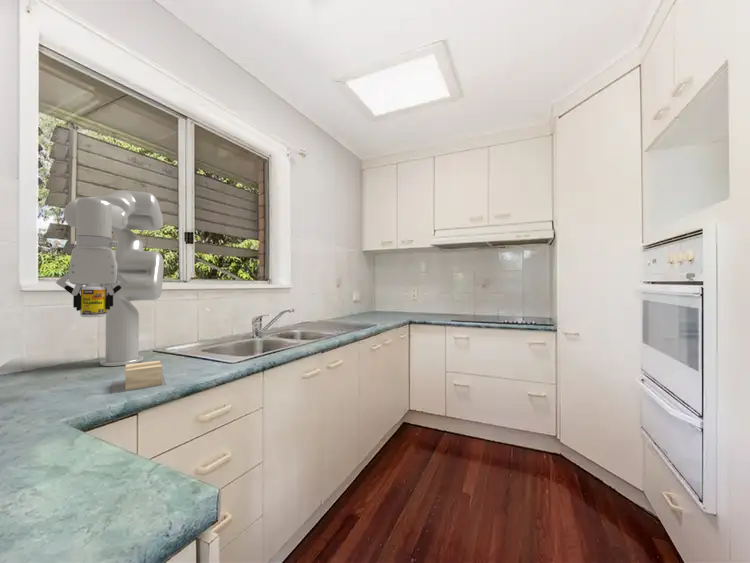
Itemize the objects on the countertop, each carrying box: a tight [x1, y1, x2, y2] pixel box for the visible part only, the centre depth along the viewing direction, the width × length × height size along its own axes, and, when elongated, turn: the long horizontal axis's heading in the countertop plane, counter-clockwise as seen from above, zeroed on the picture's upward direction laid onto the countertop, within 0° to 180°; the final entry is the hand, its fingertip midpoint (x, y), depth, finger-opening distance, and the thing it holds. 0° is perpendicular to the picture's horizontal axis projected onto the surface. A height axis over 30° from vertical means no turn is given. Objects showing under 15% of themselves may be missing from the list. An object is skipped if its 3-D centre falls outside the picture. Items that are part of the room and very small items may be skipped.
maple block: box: [125, 360, 163, 390], centre depth 92 cm, size 8×8×5 cm
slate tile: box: [110, 374, 167, 394], centre depth 93 cm, size 12×12×1 cm
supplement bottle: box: [79, 283, 107, 318], centre depth 93 cm, size 6×6×10 cm
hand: (93, 309), depth 93 cm, fingers closed on supplement bottle, 5 cm apart
